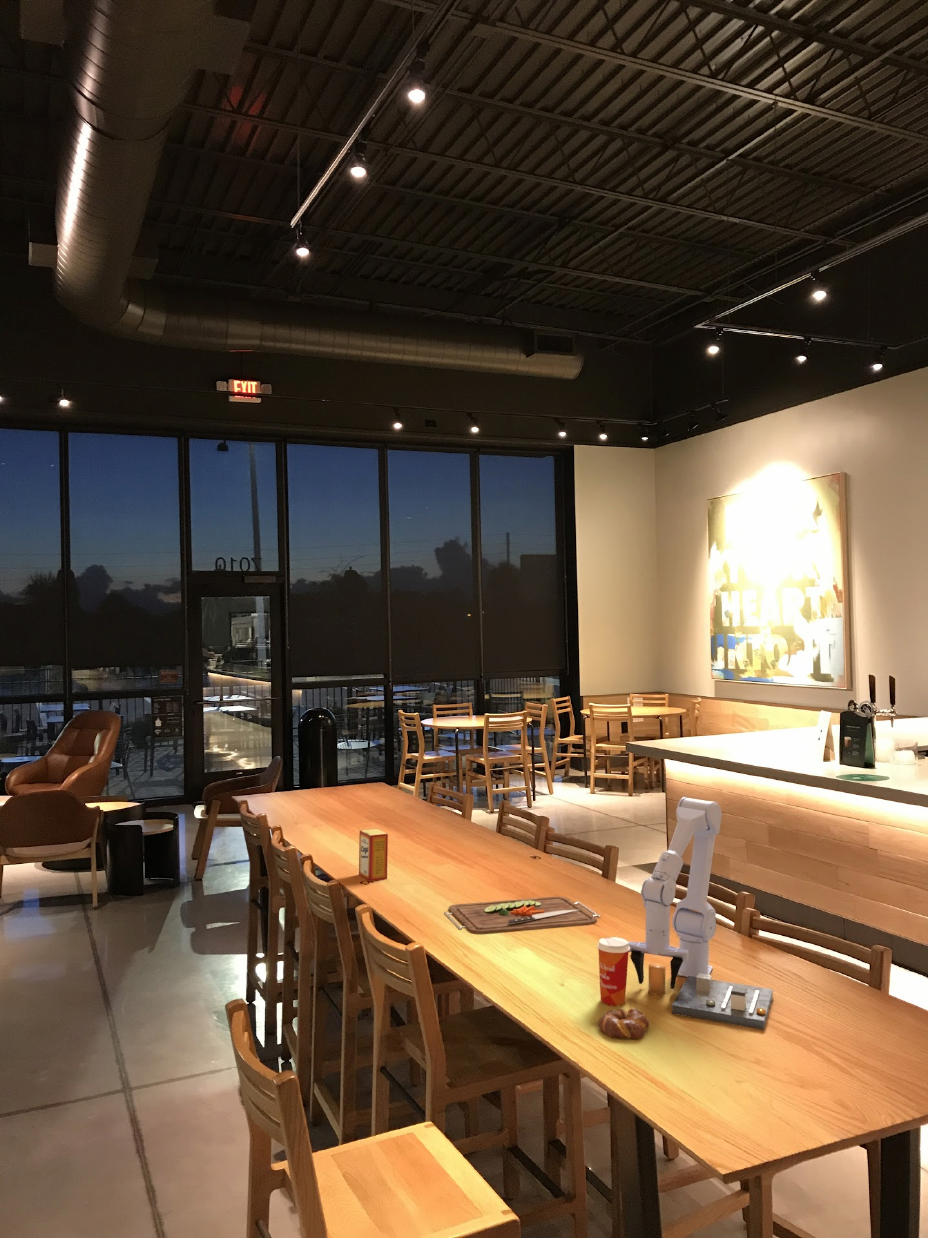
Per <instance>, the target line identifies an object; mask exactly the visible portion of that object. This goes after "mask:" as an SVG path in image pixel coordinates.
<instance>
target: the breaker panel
mask: <svg viewBox="0 0 928 1238" xmlns="http://www.w3.org/2000/svg"><path fill="white" fill-rule="evenodd" d="M733 986H735V987H741V988H746V1008H745V1011H742V1010H736V1009H731V990H732V987H733ZM773 992H774V989H773V988H769V987H768V988H767V987H762V986H761V987H760V986H755V985H747V984H743V983H742V984H741V983H736V982H730V981H723V980H717V979H713V978H712V974H710V975H708V974H701V973H698V975H697V977H693V976H687V977H686V978H685V980H684V982H683V984H682V986H681V988H680V990H679V992H678V993H677V995H676V997H675V999H674V1001H673V1002H672V1004H671V1006H672V1007H671V1014H672V1015H676V1016H677V1015H678V1016H684V1017H689V1018H695V1019H698V1020H704V1021H705V1020H706V1021H711V1022H715V1023H716V1022H717V1023H723V1024H728V1025H733V1026H740V1027H745V1028H750V1029H757V1030H760V1031H764V1030H765V1027H766V1024H767V1020H768V1016H769V1013H770V1008H771V1005H772V1002H773V997H774V995H773Z"/></svg>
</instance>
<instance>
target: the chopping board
mask: <svg viewBox="0 0 928 1238" xmlns="http://www.w3.org/2000/svg"><path fill="white" fill-rule="evenodd" d="M443 914H444V915H445V916H446V917H447V918H448V919H449V920H450V921H451V922H452V923H453V924H454V925H455V926H456V928H457V929H459V931H460V930H461V931H462V930H463V929H466V930H467V931H468V932H470V933H472V934H478V935H485V934H495V933H496V934H497V933H508V932H522V931H529V930H541V929H552V928H565V927H576V926H588V925H595V924H597V923H598V918H599V919H600V918H601V917H602V916H601V915H600V914H598V913H597V912H595V911H594V910H593V909H591V908H589V907H588V906H586V905H585V904H583V903H582V902H580V901H579V900H577V901H576V902H575V901H573V900H571V899H570V898H568V897H564V896H546V897H533V898H531V897H530V898H522V899H520V898H519V899H508V900H496V901H495V900H494V901H482V902H472V903H471V902H469V903H457V904H456V903H455V904H451V905H450V906H449V907H448V912H446V911H444V912H443ZM451 915H452V916H454V917H455V918H456V919H457V921H459V923H460V924H461V925H462V926H461V925H460V924H458V923H457V921H455V919H454V918H452V916H451Z"/></svg>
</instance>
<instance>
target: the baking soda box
mask: <svg viewBox="0 0 928 1238" xmlns="http://www.w3.org/2000/svg"><path fill="white" fill-rule="evenodd" d="M388 836H389V834H388V833H387V832H385V831H382V830H380V829H378V828H372V829H371V828H369V829H361V830H360V829H359V836H358V837H359V838H358V839H359V844H358V845H359V847H358V849H359V850H358V853H359V854H358V856H359V857H358V876H360V877H362V878H364V879H365V880H366V881H369V882H374V881H382V880H383V881H384V880H388V849H389V848H388V843H389V839H388V838H389V837H388Z"/></svg>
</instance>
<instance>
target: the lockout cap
mask: <svg viewBox="0 0 928 1238" xmlns="http://www.w3.org/2000/svg"><path fill="white" fill-rule="evenodd" d="M647 985H648V987H647V988H648V989H647V990H648V992H649V993H651V994H654V995H664V994H665V993H666V965H665V964H662V963H659V962H658V963H657V962H656V963H655V962H654V963H653V962H652V963H650V964H648V984H647Z"/></svg>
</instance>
